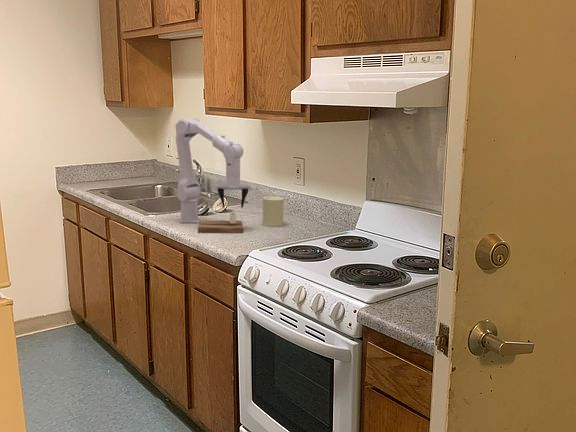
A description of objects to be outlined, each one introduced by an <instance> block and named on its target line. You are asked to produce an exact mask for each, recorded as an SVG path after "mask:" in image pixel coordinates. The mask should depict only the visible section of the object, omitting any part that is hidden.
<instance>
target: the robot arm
mask: <svg viewBox="0 0 576 432" xmlns="http://www.w3.org/2000/svg"><path fill="white" fill-rule="evenodd" d="M174 128H175V133H176V134H175V144H176V150H177V158H178V165H179V173H180V180H179V182H178V183H177V191H176V197H177V198H178V200H179V202H180V219H179V224H181V223H182V224H184V223H185V224H186V223H187V224H192V223H197V224H199V221H200V217H198V216H199V211H198V210H199V206H198V204H199V200H200V198H201V196H202V188H201V186H200V184H199V181H198V180H197V179H196V178H195V176H194V175H195V174H194V167H193V159H192V154H191V153H192V152H191V147H190V146H191V145H190V141H192V139H193V138H194V137H195V136H197V135H201V136H202V137H204V138H205V139H207V140H209V141H210V142H211V144H212V147H214V148H215V149H216V150H218V151H219V152H220V153H222V154H223V158H224V160H225V183H222V184H221V183H220V184H219V183H218V184H215V185H214V189H215V191H217V193H218V196H219V198H220V200H221V204H222V208H225V190H231V191H237V190H238V191H241V203H240V207H241V209H242V208H244V204H245V200H246V197H247V195H248V193H249V191H251V190H252V189H251V188H252V185H251V184H241V158H242V157H243V155H244V149H243V146H241V144H239V143H237V144H236V143H234V141H233V140H229V139H227V138H226V135H224V134H217V133H215V132H214V131H213V130H211V129H210V128H209V127H207V126H206V125H205V124H204V121H201V120H200V119H199V118H188V119H185V118H181V119H179V120H178V121H177V123H176V124H175V127H174Z"/></svg>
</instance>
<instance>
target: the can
mask: <svg viewBox="0 0 576 432" xmlns="http://www.w3.org/2000/svg"><path fill="white" fill-rule="evenodd" d="M284 200H285V198H284V197H281V196H264V197H262V224H261V225H263V226H264V227H269V228H270V227H271V228H274V227H276V228H279V227H282V226H284V205H285V204H284Z"/></svg>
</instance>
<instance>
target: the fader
mask: <svg viewBox="0 0 576 432" xmlns="http://www.w3.org/2000/svg"><path fill="white" fill-rule="evenodd" d="M229 221H230V225H236V221H237V214H236V212H229Z"/></svg>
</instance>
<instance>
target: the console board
mask: <svg viewBox="0 0 576 432" xmlns="http://www.w3.org/2000/svg"><path fill="white" fill-rule="evenodd" d="M243 225H244V224H243V221H242V220H236V225H230V220H199V222H198V226H197V233H198V234H243V232H244V227H243Z"/></svg>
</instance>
